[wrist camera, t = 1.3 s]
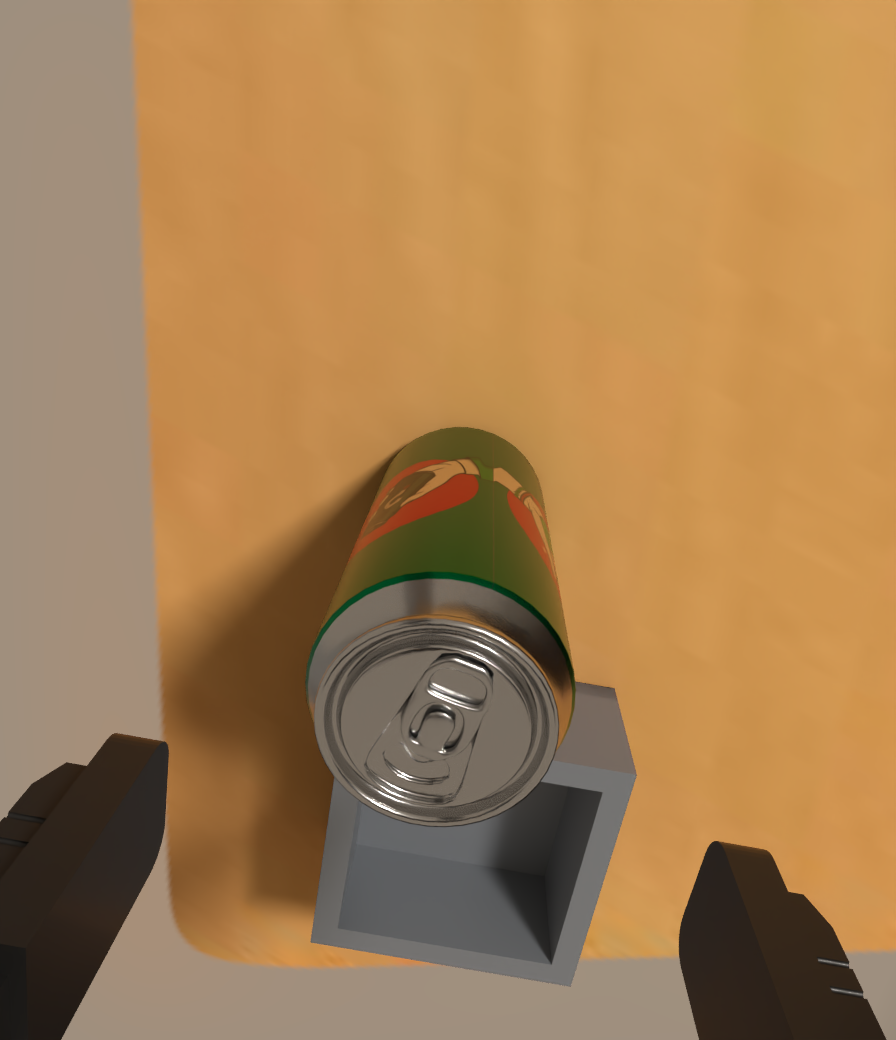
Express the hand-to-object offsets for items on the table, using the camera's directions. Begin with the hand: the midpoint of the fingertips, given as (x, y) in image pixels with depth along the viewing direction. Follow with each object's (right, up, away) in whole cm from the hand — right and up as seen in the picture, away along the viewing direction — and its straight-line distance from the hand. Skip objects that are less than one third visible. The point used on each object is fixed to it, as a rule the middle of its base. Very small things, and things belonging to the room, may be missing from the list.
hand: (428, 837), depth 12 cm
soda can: (+1, +5, +14) cm, 15 cm away
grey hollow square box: (+1, -4, +17) cm, 18 cm away
